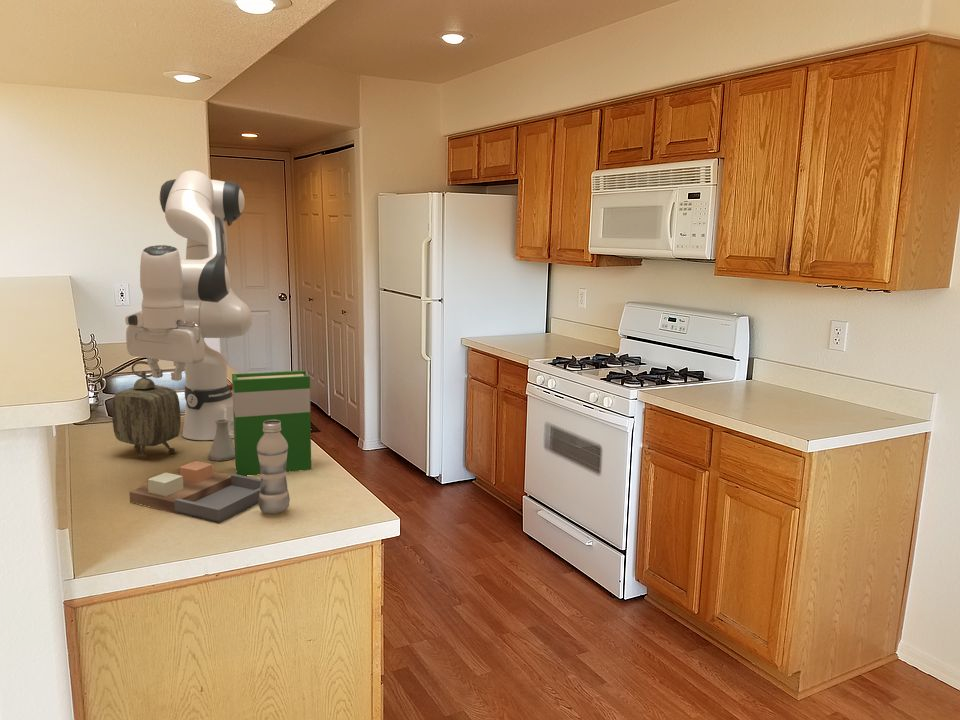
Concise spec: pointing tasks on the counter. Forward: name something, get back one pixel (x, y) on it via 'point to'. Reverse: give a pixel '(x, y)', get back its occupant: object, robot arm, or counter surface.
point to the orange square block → (196, 471)
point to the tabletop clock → (146, 414)
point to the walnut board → (181, 492)
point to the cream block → (165, 484)
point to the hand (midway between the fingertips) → (167, 378)
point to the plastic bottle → (273, 469)
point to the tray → (223, 501)
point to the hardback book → (271, 416)
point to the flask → (222, 443)
